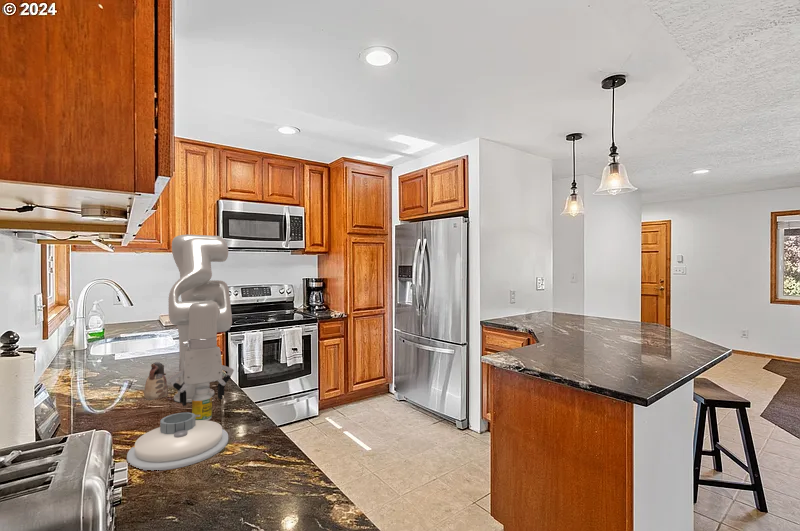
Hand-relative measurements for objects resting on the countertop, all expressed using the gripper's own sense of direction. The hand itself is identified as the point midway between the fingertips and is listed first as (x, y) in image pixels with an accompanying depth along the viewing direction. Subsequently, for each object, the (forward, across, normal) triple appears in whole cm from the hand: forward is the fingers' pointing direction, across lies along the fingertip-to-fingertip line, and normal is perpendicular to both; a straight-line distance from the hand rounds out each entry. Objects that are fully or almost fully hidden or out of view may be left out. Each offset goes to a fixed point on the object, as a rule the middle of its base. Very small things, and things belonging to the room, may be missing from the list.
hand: (202, 401), depth 114 cm
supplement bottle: (+6, 0, +1) cm, 6 cm away
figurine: (+5, -10, +33) cm, 35 cm away
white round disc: (+5, -7, -16) cm, 19 cm away
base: (+6, -7, -16) cm, 19 cm away
